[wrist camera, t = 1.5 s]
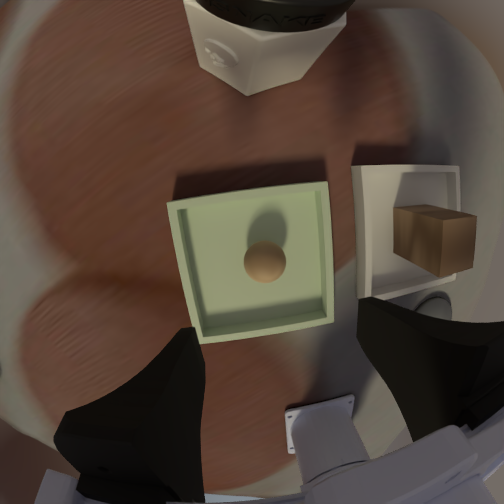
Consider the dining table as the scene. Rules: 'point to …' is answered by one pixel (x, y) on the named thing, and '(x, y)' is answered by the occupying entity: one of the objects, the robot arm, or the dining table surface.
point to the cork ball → (264, 261)
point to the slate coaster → (436, 308)
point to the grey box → (381, 223)
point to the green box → (233, 251)
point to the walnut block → (434, 238)
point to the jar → (262, 38)
